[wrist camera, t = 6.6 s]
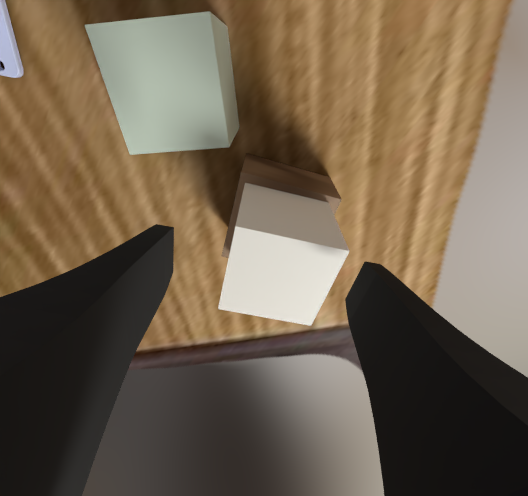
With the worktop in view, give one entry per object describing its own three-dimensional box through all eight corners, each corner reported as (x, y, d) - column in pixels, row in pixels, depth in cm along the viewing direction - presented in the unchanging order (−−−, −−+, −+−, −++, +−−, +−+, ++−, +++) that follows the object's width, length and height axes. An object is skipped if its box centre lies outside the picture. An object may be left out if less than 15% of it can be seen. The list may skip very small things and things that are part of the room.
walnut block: (229, 226, 21) (221, 256, 18) (246, 152, 18) (241, 171, 15) (300, 244, 22) (305, 275, 19) (329, 176, 19) (341, 199, 16)
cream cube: (230, 252, 18) (218, 308, 14) (245, 182, 15) (235, 226, 11) (301, 267, 18) (310, 325, 14) (328, 202, 16) (349, 251, 12)
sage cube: (163, 133, 17) (129, 154, 13) (137, 36, 15) (84, 24, 11) (239, 127, 17) (229, 147, 13) (227, 26, 14) (209, 11, 10)
